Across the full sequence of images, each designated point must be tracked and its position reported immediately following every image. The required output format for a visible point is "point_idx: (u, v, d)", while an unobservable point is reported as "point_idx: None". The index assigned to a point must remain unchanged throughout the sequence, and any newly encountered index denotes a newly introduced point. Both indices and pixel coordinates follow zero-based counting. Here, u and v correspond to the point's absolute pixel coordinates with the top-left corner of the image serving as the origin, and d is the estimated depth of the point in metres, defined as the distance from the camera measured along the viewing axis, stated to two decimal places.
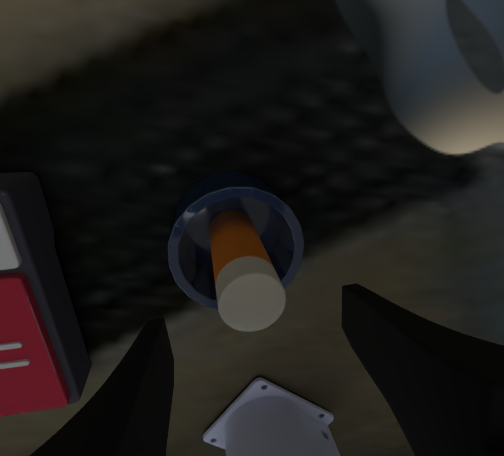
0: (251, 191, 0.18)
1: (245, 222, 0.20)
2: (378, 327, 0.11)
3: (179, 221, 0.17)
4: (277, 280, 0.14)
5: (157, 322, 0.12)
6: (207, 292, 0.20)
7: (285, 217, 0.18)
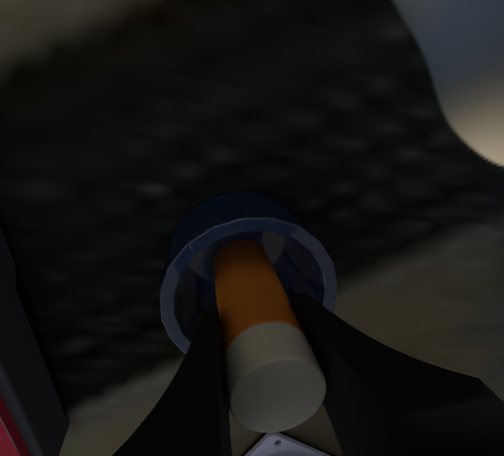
0: (271, 223, 0.13)
1: (260, 259, 0.15)
2: (317, 339, 0.11)
3: (175, 263, 0.13)
4: (315, 364, 0.10)
5: (213, 312, 0.12)
6: None
7: (314, 255, 0.14)
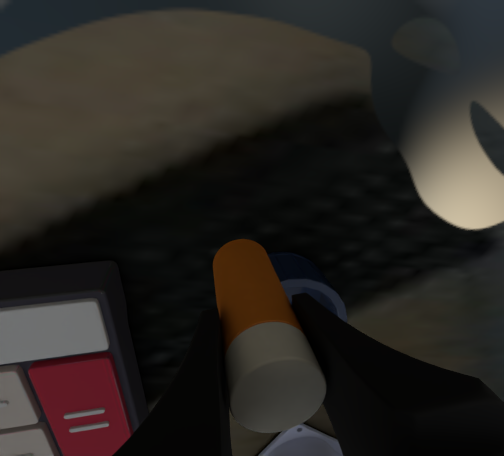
0: (305, 282, 0.20)
1: (260, 259, 0.15)
2: (317, 339, 0.11)
3: None
4: (315, 364, 0.10)
5: (213, 312, 0.12)
6: None
7: (332, 300, 0.21)
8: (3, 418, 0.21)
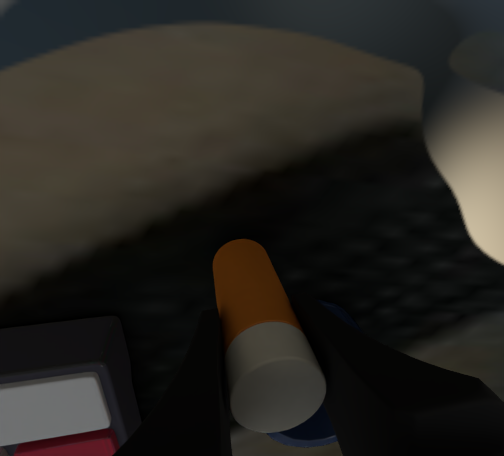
0: None
1: (260, 258, 0.15)
2: (317, 339, 0.11)
3: None
4: (315, 364, 0.10)
5: (213, 312, 0.12)
6: (288, 429, 0.20)
7: None
8: None
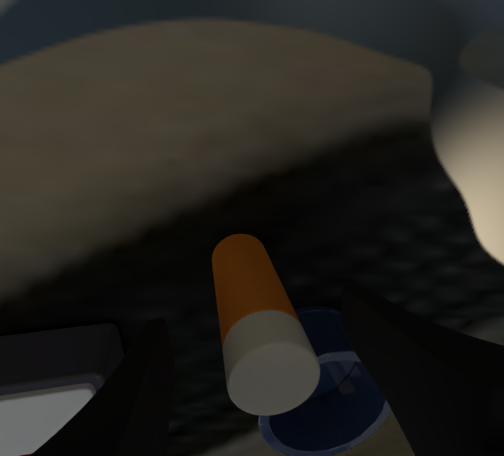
0: (350, 355, 0.17)
1: (258, 252, 0.16)
2: (378, 327, 0.11)
3: None
4: (309, 349, 0.10)
5: (157, 322, 0.12)
6: (291, 439, 0.19)
7: None
8: None
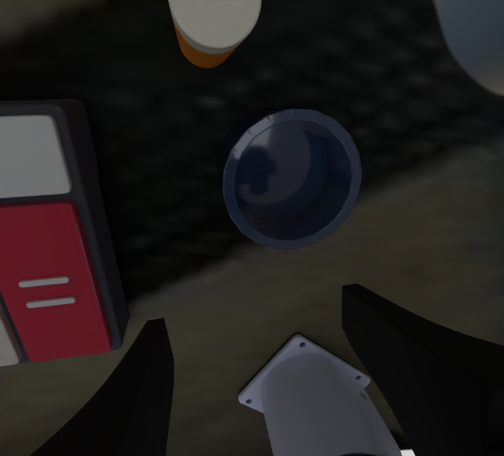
0: (312, 114, 0.17)
1: None
2: (378, 327, 0.11)
3: (237, 145, 0.17)
4: None
5: (157, 322, 0.12)
6: (258, 229, 0.19)
7: (344, 145, 0.18)
8: None
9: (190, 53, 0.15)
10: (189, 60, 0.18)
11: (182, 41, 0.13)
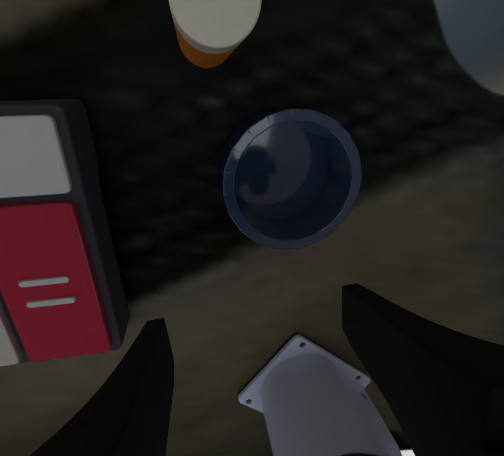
0: (312, 114, 0.17)
1: None
2: (378, 327, 0.11)
3: (237, 145, 0.17)
4: None
5: (157, 322, 0.12)
6: (258, 229, 0.19)
7: (344, 145, 0.18)
8: None
9: (190, 53, 0.15)
10: (189, 60, 0.18)
11: (182, 41, 0.13)
